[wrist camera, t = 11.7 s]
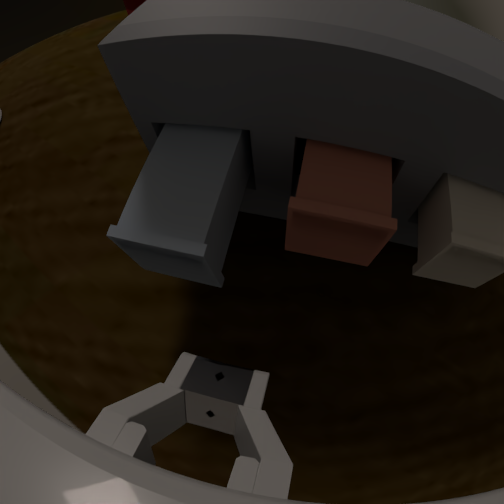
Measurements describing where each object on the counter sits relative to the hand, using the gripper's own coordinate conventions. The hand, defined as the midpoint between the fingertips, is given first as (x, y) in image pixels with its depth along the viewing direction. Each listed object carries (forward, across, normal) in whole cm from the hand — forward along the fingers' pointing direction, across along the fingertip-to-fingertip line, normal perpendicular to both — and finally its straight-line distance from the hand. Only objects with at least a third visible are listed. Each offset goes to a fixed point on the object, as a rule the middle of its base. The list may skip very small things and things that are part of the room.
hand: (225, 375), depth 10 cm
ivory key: (+10, -10, -4) cm, 15 cm away
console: (+15, -3, -4) cm, 16 cm away
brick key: (+10, -3, -4) cm, 12 cm away
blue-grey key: (+8, +4, -2) cm, 10 cm away
